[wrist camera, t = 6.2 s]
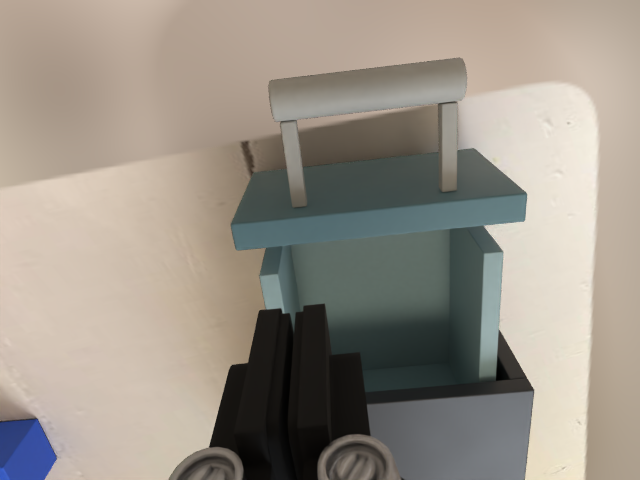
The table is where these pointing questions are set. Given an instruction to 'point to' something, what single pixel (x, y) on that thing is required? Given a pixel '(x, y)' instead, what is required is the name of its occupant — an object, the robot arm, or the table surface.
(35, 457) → the blue block
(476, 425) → the dark grey drawer cabinet
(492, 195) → the drawer
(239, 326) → the table surface
